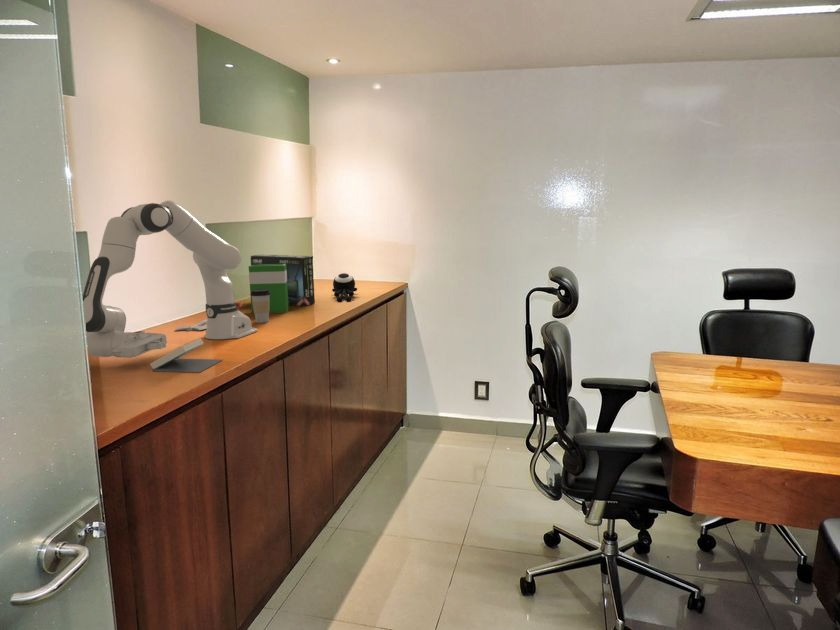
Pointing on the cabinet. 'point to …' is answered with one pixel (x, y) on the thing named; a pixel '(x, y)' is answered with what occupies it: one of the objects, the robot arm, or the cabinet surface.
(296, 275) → the router box
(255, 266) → the green cereal box
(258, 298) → the coffee cup
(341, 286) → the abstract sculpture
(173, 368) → the rubber mat
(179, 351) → the ceramic tile
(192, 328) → the driftwood branch
